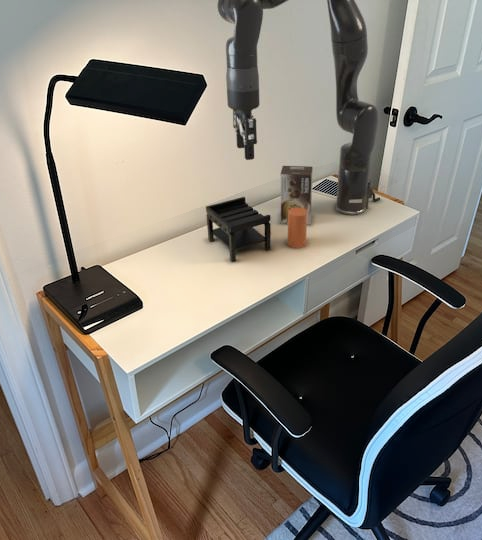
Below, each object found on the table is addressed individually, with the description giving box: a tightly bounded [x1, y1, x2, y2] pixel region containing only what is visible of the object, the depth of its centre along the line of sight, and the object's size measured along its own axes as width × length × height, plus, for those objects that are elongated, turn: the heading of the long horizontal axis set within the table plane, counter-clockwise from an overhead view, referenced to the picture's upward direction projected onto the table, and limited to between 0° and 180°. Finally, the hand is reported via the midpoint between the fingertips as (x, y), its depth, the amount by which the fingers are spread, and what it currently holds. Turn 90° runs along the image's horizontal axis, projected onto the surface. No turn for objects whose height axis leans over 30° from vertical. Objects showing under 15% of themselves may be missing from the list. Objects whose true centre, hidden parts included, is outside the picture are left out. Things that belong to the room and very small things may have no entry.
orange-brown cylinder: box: [286, 207, 308, 249], centre depth 141 cm, size 5×5×10 cm
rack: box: [205, 196, 272, 263], centre depth 140 cm, size 12×14×10 cm
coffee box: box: [279, 165, 313, 226], centre depth 151 cm, size 9×6×16 cm
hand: (245, 153), depth 128 cm, fingers open, 8 cm apart
